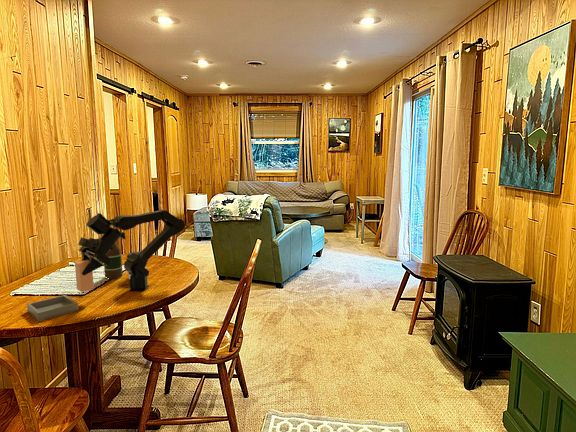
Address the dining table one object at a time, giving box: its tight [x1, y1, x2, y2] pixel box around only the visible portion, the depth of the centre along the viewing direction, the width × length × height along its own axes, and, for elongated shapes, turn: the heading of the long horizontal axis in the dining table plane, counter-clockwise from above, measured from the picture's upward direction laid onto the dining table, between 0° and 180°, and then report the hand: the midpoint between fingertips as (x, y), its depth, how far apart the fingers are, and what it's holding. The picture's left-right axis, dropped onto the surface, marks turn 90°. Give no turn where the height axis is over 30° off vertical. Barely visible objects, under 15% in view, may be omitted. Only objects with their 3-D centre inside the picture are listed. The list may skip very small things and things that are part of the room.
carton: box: [74, 260, 95, 292], centre depth 155 cm, size 5×5×11 cm
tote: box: [26, 294, 79, 322], centre depth 148 cm, size 13×13×3 cm
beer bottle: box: [103, 226, 123, 280], centre depth 188 cm, size 8×8×24 cm
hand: (80, 273), depth 154 cm, fingers closed on carton, 5 cm apart
